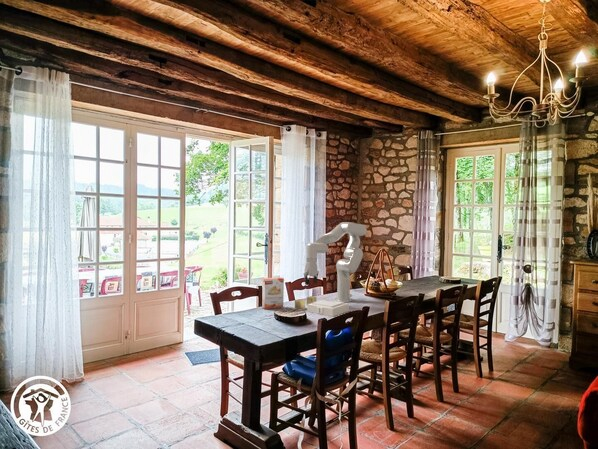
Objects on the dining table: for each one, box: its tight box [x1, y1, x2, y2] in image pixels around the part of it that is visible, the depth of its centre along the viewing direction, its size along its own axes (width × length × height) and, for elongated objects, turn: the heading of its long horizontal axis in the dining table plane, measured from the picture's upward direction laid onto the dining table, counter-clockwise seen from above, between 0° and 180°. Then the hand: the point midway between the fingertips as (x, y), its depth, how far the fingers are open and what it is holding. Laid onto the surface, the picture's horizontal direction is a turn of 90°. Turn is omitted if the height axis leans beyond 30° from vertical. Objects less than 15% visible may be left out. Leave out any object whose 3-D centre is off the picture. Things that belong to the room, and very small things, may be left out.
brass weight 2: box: [306, 295, 317, 305], centre depth 295 cm, size 5×5×6 cm
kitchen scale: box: [306, 298, 350, 317], centre depth 276 cm, size 21×20×6 cm
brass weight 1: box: [294, 298, 306, 310], centre depth 284 cm, size 5×5×6 cm
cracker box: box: [261, 276, 285, 310], centre depth 285 cm, size 14×6×21 cm, turn 112°
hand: (311, 284), depth 294 cm, fingers open, 9 cm apart
